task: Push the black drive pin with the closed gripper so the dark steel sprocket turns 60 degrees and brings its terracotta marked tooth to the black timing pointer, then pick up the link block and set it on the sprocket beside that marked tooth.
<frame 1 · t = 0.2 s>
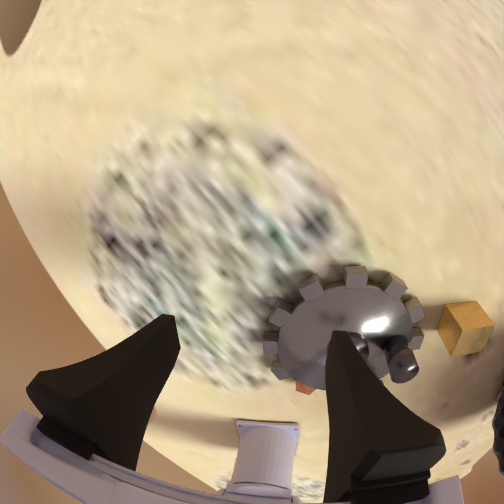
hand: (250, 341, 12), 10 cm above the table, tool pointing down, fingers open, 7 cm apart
sprocket: (348, 357, 21), point 3 cm above the table, hinge at 0.0°
link block: (457, 315, 21), on the table
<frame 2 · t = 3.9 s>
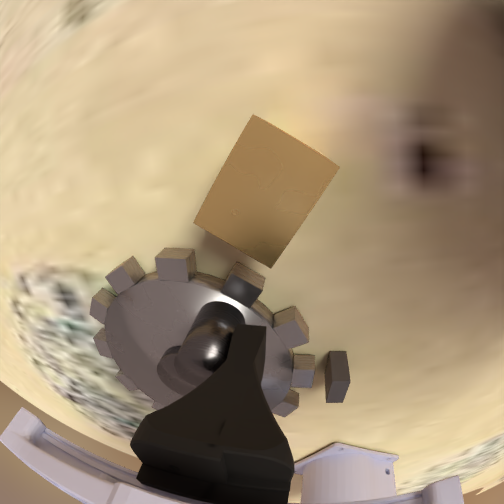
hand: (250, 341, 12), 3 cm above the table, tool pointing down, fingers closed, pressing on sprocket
sprocket: (184, 381, 15), point 3 cm above the table, hinge at 0.7°, touching gripper
link block: (272, 176, 12), on the table
timing pointer: (335, 362, 16), on the table
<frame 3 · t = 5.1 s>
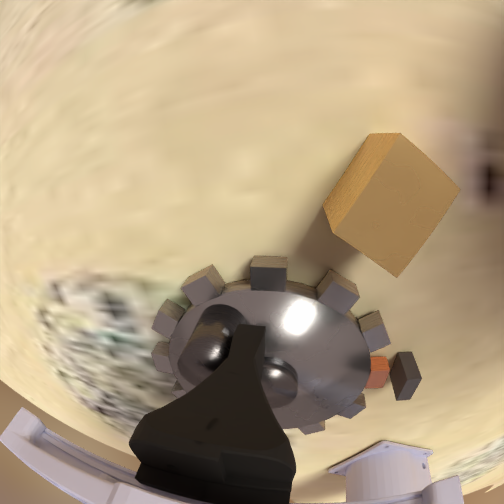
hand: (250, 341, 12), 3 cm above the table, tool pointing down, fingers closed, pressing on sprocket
sprocket: (264, 392, 14), point 3 cm above the table, hinge at 61.2°, touching gripper
link block: (372, 187, 12), on the table
timing pointer: (400, 363, 15), on the table
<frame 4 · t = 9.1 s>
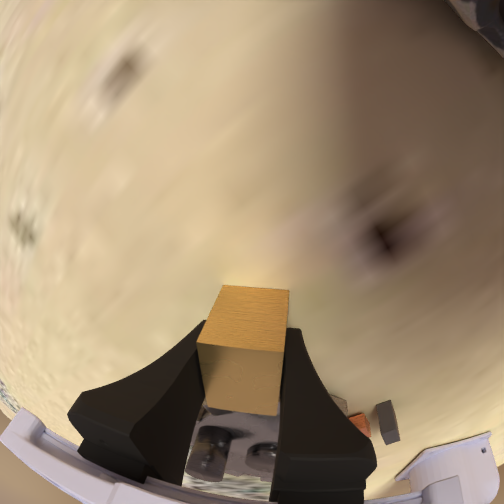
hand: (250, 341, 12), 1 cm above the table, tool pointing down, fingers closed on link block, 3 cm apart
sprocket: (269, 466, 16), point 3 cm above the table, hinge at 61.4°
link block: (255, 322, 14), on the table, touching gripper
timing pointer: (386, 409, 15), on the table
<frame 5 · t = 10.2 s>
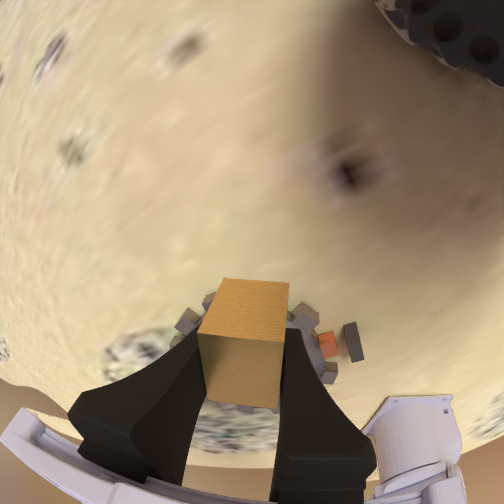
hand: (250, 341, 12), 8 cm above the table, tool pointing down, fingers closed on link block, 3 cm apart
sprocket: (249, 378, 21), point 3 cm above the table, hinge at 61.4°
link block: (255, 316, 14), point 7 cm above the table, touching gripper
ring: (451, 18, 10), on the table
timing pointer: (352, 332, 21), on the table
when the fingers open (4 cm above the table, at t = 11.8 s): link block stays where it is, resting on sprocket.
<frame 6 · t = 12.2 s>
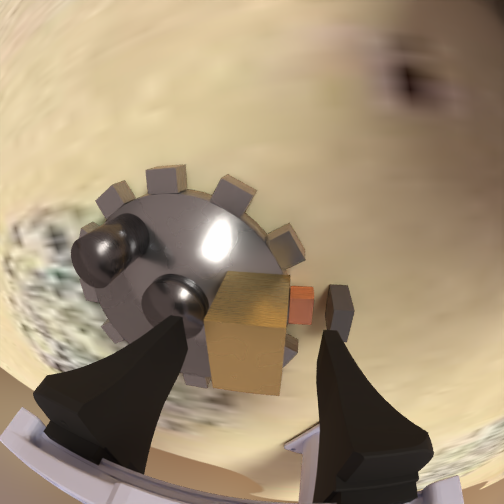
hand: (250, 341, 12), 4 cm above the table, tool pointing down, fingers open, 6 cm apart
sprocket: (170, 314, 14), point 3 cm above the table, hinge at 61.4°, touching link block
link block: (258, 307, 14), point 1 cm above the table, touching sprocket
timing pointer: (336, 300, 15), on the table
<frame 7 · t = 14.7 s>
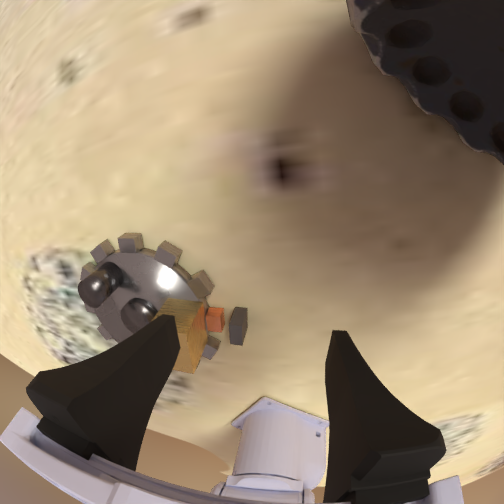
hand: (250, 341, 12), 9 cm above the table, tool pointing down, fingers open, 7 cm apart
sprocket: (137, 322, 22), point 3 cm above the table, hinge at 61.4°, touching link block
link block: (188, 320, 23), point 1 cm above the table, touching sprocket
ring: (454, 72, 13), on the table
timing pointer: (241, 317, 23), on the table
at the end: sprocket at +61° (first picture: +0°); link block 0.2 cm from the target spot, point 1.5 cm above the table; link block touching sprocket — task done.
